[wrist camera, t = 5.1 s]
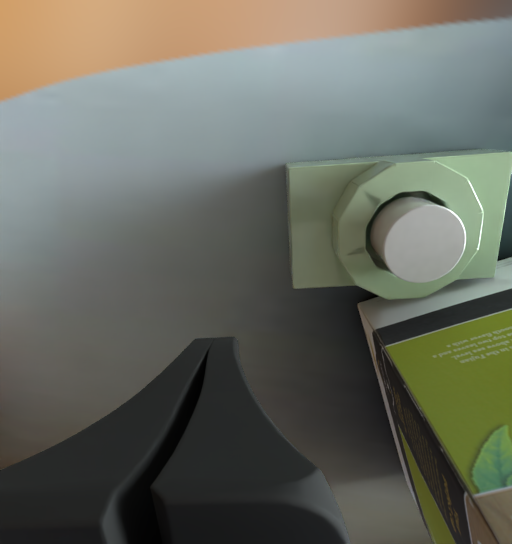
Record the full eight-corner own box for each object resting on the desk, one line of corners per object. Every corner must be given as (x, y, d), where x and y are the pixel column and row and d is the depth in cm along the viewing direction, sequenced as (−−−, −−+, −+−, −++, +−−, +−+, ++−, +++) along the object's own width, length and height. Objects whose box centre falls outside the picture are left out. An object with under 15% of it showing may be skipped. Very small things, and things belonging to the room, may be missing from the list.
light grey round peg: (439, 264, 17) (461, 281, 15) (368, 268, 17) (381, 285, 15) (447, 193, 16) (471, 202, 14) (370, 198, 16) (385, 207, 14)
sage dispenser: (467, 261, 21) (517, 293, 17) (289, 271, 22) (295, 305, 18) (482, 147, 19) (543, 152, 15) (285, 162, 20) (290, 170, 15)
